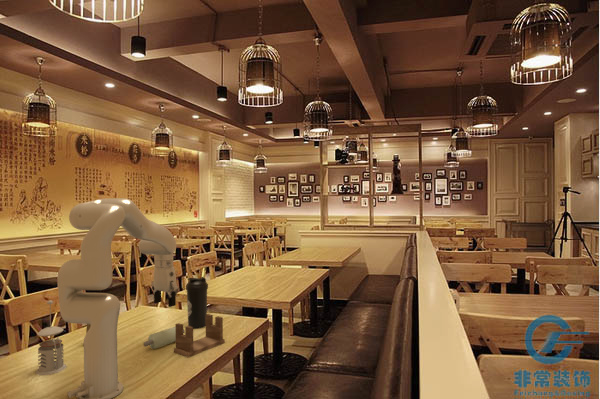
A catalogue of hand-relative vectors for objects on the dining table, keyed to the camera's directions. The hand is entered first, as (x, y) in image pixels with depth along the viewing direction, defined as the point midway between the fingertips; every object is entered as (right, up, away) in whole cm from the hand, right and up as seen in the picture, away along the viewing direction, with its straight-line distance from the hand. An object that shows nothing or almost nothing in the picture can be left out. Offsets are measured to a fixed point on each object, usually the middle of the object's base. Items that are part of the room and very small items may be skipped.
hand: (164, 304), depth 173 cm
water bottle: (+8, -17, +24) cm, 30 cm away
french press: (-33, -18, -25) cm, 44 cm away
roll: (0, -14, 0) cm, 14 cm away
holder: (+16, -17, -4) cm, 23 cm away
